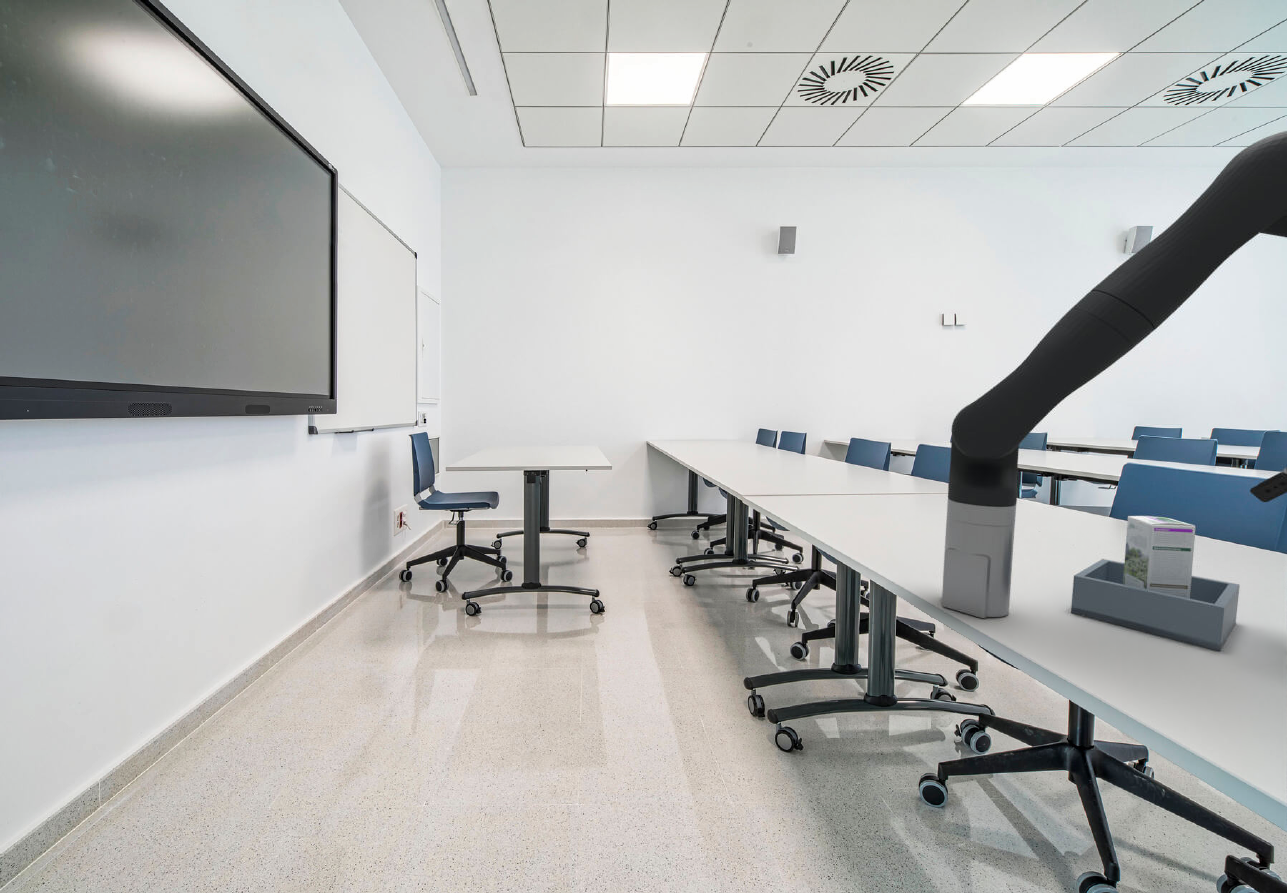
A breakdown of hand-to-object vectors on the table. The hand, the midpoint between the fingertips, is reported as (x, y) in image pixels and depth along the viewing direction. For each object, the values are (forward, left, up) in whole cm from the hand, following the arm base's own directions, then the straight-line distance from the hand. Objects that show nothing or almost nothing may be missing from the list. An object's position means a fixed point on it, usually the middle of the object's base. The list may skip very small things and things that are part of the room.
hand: (1259, 493), depth 73 cm
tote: (0, +10, -21) cm, 23 cm away
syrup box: (0, +9, -20) cm, 22 cm away
